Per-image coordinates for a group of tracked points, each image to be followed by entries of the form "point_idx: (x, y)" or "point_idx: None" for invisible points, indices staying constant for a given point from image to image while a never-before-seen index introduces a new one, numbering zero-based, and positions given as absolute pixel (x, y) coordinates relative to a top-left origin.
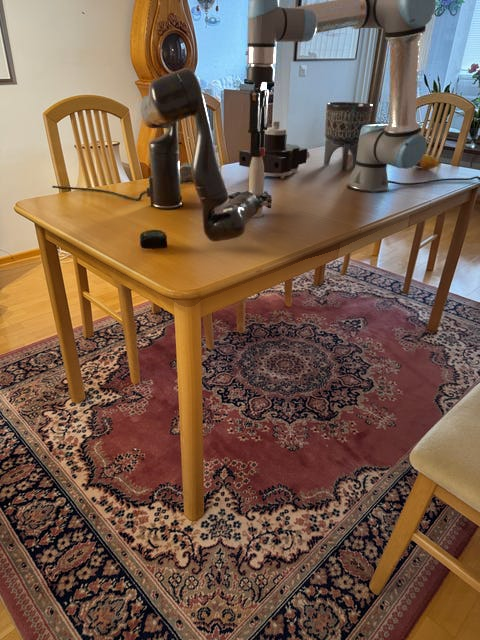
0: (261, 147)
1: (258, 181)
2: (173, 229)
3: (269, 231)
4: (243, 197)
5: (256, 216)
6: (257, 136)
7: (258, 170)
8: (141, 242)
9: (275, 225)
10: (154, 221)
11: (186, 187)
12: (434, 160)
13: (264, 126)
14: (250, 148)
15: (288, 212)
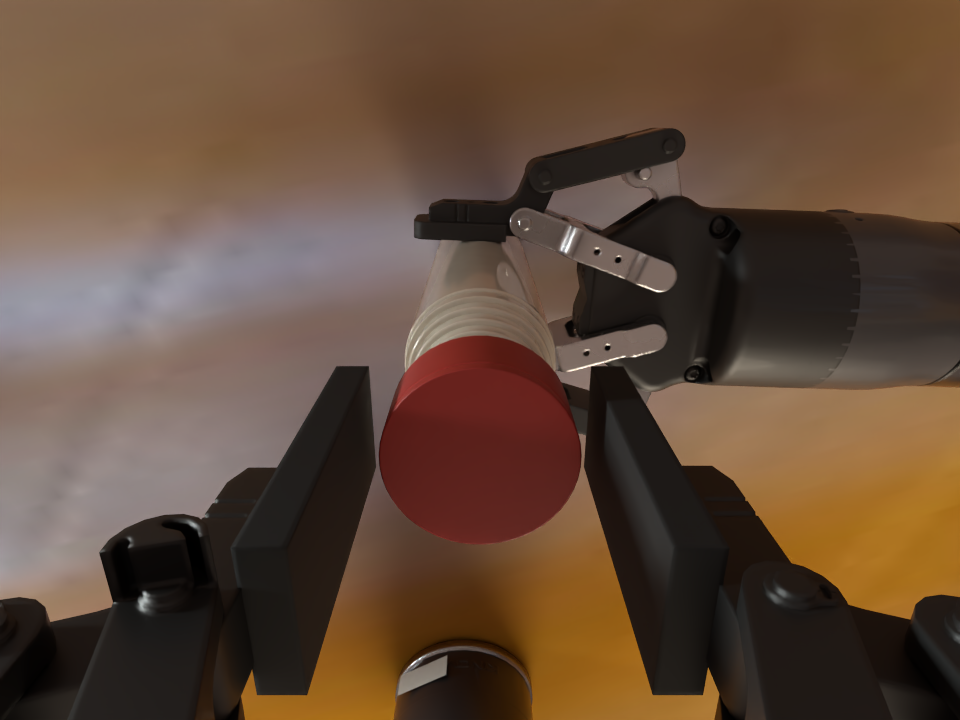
0: (425, 422)
1: (537, 294)
2: (804, 560)
3: (768, 102)
4: (915, 311)
5: (520, 242)
6: (745, 549)
7: (547, 327)
8: None
9: (647, 88)
10: None
11: None
12: None
13: (209, 622)
14: (519, 533)
15: (342, 51)
